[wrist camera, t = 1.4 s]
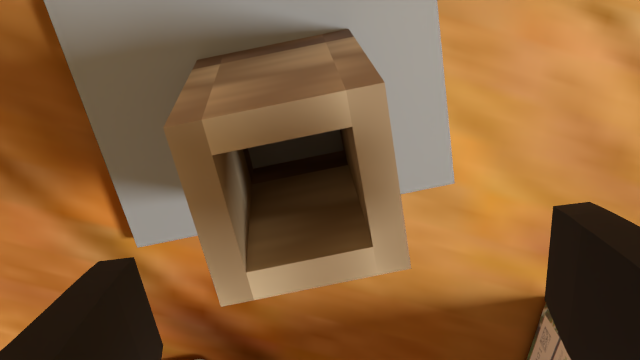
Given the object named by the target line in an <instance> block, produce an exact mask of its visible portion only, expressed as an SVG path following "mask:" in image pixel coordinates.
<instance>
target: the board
mask: <svg viewBox="0 0 640 360" xmlns="http://www.w3.org/2000/svg"><path fill="white" fill-rule="evenodd" d="M44 3H45V5H46V8H47V11H48V13H49V16H50V19H51V21H52V24H53V26H54V29H55V32H56V34H57V37H58V40H59V42H60V45H61V47H62V50H63V53H64V55H65V58H66V61H67V63H68V66H69V69H70V71H71V74H72V76H73V79H74V82H75V84H76V87H77V90H78V92H79V95H80V97H81V100H82V103H83V105H84V108H85V111H86V113H87V116H88V119H89V121H90V124H91V126H92V129H93V132H94V134H95V137H96V140H97V142H98V145H99V147H100V150H101V153H102V155H103V158H104V161H105V163H106V166H107V168H108V171H109V174H110V176H111V179H112V182H113V184H114V187H115V190H116V192H117V195H118V197H119V200H120V203H121V205H122V208H123V211H124V213H125V216H126V218H127V221H128V224H129V226H130V229H131V232H132V234H133V237H134V240H135V242H136V245H137V247H143V246H148V245H153V244H158V243H163V242H167V241H172V240H177V239H182V238H187V237H192V236H197V235H198V234H197V231H196V228H195V225H194V222H193V219H192V216H191V212H190V209H189V206H188V203H187V200H186V197H185V194H184V191H183V188H182V185H181V182H180V178H179V175H178V172H177V169H176V166H175V163H174V160H173V157H172V154H171V151H170V148H169V144H168V141H167V138H166V135H165V132H164V129H163V127H164V125H165V123H166V121H167V119H168V117H169V115H170V113H171V111H172V109H173V107H174V105H175V103H176V101H177V99H178V97H179V95H180V93H181V91H182V89H183V87H184V85H185V83H186V81H187V79H188V77H189V75H190V73H191V71H192V69H193V67H194V65H195V63H196V61H197V60H199V59H204V58H209V57H213V56H218V55H223V54H228V53H233V52H238V51H243V50H248V49H252V48H257V47H262V46H267V45H272V44H277V43H282V42H287V41H291V40H296V39H301V38H306V37H311V36H316V35H321V34H325V33H330V32H335V31H340V30H345V29H349V30H350V31H351V33H352V34H353V36H354V37H355V39H356V40H357V42H358V43H359V45H360V46H361V48H362V49H363V51H364V52H365V54H366V55H367V57H368V58H369V60H370V61H371V63H372V64H373V66H374V67H375V69H376V70H377V72H378V73H379V75H380V76H381V78H382V79H383V81H384V82H385V88H386V95H387V102H388V109H389V116H390V123H391V130H392V137H393V145H394V152H395V159H396V166H397V173H398V180H399V187H400V194H404V193H409V192H414V191H419V190H424V189H429V188H434V187H439V186H444V185H449V184H454V172H453V162H452V152H451V141H450V131H449V120H448V110H447V100H446V89H445V79H444V68H443V58H442V47H441V37H440V27H439V16H438V6H437V0H44ZM248 151H249V155H250V159H251V162H252V166H253V169H254V168H259V167H264V166H269V165H274V164H279V163H284V162H289V161H294V160H299V159H303V158H308V157H313V156H318V155H323V154H328V153H333V152H338V151H343V145H342V139H341V134H340V129H339V130H334V131H329V132H324V133H319V134H314V135H309V136H305V137H300V138H295V139H290V140H285V141H280V142H275V143H270V144H265V145H260V146H256V147H251V148H248Z"/></svg>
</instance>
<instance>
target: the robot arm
mask: <svg viewBox="0 0 640 360" xmlns="http://www.w3.org/2000/svg"><path fill="white" fill-rule="evenodd" d="M545 302H546V305H547V307H548V309H549V312H550V314H551V317H552V319H553V322H554V324H555V327H556V329H557V331H558V334H559V336H560V338H561V340H562V343H563V345H564V347H565V349H566V352H567V353H568V355H569V357H570V359H571V360H640V227H639V226H637V225H635V224H634V223H632V222H630V221H628V220H626V219H624V218H622V217H620V216H618V215H616V214H614V213H612V212H610V211H608V210H606V209H604V208H602V207H600V206H598V205H595V204H593V203H591V202H585V203H577V204H568V205H560V206H553V215H552V226H551V237H550V247H549V258H548V269H547V280H546V291H545ZM162 350H163V344H162V341H161V338H160V335H159V332H158V329H157V326H156V323H155V320H154V317H153V314H152V311H151V308H150V305H149V302H148V299H147V296H146V293H145V289H144V286H143V283H142V280H141V277H140V274H139V271H138V268H137V265H136V262H135V259H134V257H132V258H123V259H115V260H107V261H99V262H98V263H96V264H95V265H94V266H93V267H92V268H90V269H89V270H88V271H87V272H86V273H85V274H83V275H82V276H81V277H80V278H79V279H78V280H77V281H76V282H75V283H74V284H73V285H71V286H70V287H69V288H68V289H67V290H66V291H65V292H64V293H63V294H62V295H61V296H60V297H59V298H58V299H57V300H55V301H54V302H53V303H52V304H51V305H50V306H49V307H48V308H47V309H46V310H45V311H44V312H43V313H42V314H40V315H39V316H38V317H37V318H36V319H35V320H34V321H33V322H32V323H31V324H30V325H29V326H27V327H26V328H25V329H24V330H23V331H22V332H21V333H20V334H19V335H18V336H17V337H16V338H15V339H13V340H12V341H11V342H10V343H9V344H8V345H7V346H6V347H5V348H3V349H2V350H1V351H0V360H161V358H162ZM196 360H204V359H196Z"/></svg>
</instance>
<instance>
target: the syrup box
mask: <svg viewBox="0 0 640 360" xmlns="http://www.w3.org/2000/svg"><path fill="white" fill-rule="evenodd" d="M527 360H571V359H570V357H569V355H568V353H567V352H566V349H565V347H564V345H563V343H562V340H561V338H560V336H559V334H558V331H557V329H556V327H555V324H554V322H553V319H552V317H551V314H550V312H549V309H548V307H547V305H546V304H545V307H544V309H543V312H542V315H541V318H540V321H539V324H538V327H537V331H536V333H535V336H534V340H533V342H532V345H531V348H530V351H529V354H528V357H527Z"/></svg>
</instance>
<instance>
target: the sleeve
mask: <svg viewBox="0 0 640 360" xmlns="http://www.w3.org/2000/svg"><path fill="white" fill-rule="evenodd" d="M163 129H164V132H165V135H166V138H167V141H168V144H169V148H170V151H171V154H172V157H173V160H174V163H175V166H176V169H177V172H178V175H179V178H180V182H181V185H182V188H183V191H184V194H185V197H186V200H187V203H188V206H189V209H190V212H191V216H192V219H193V222H194V225H195V228H196V231H197V234H198V237H199V240H200V243H201V246H202V250H203V253H204V256H205V259H206V262H207V265H208V268H209V271H210V274H211V277H212V280H213V284H214V287H215V290H216V293H217V296H218V299H219V302H220V305H221V307H223V306H228V305H233V304H238V303H243V302H247V301H252V300H257V299H262V298H267V297H272V296H277V295H282V294H287V293H292V292H297V291H302V290H307V289H312V288H317V287H322V286H327V285H332V284H337V283H342V282H347V281H352V280H357V279H362V278H367V277H372V276H377V275H381V274H386V273H391V272H396V271H401V270H406V269H411V264H410V257H409V250H408V243H407V236H406V229H405V222H404V215H403V208H402V201H401V194H400V187H399V180H398V173H397V166H396V159H395V152H394V145H393V137H392V130H391V123H390V116H389V109H388V102H387V95H386V88H385V82H384V81H383V79H382V78H381V76H380V75H379V73H378V72H377V70H376V69H375V67H374V66H373V64H372V63H371V61H370V60H369V58H368V57H367V55H366V54H365V52H364V51H363V49H362V48H361V46H360V45H359V43H358V42H357V40H356V39H355V37H354V36H353V34H352V33H351V31H350V30H349V29H345V30H340V31H335V32H330V33H325V34H321V35H316V36H311V37H306V38H301V39H296V40H291V41H287V42H282V43H277V44H272V45H267V46H262V47H257V48H252V49H248V50H243V51H238V52H233V53H228V54H223V55H218V56H213V57H209V58H204V59H199V60H197V61H196V63H195V65H194V67H193V69H192V71H191V73H190V75H189V77H188V79H187V81H186V83H185V85H184V87H183V89H182V91H181V93H180V95H179V97H178V99H177V101H176V103H175V105H174V107H173V109H172V111H171V113H170V115H169V117H168V119H167V121H166V123H165V125H164V127H163ZM339 129H340V134H341V139H342V145H343V151H338V152H333V153H328V154H323V155H318V156H313V157H308V158H303V159H299V160H294V161H289V162H284V163H279V164H274V165H269V166H264V167H259V168H254V169H253V166H252V162H251V159H250V155H249V151H248V148H251V147H256V146H260V145H265V144H270V143H275V142H280V141H285V140H290V139H295V138H300V137H305V136H309V135H314V134H319V133H324V132H329V131H334V130H339Z"/></svg>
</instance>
